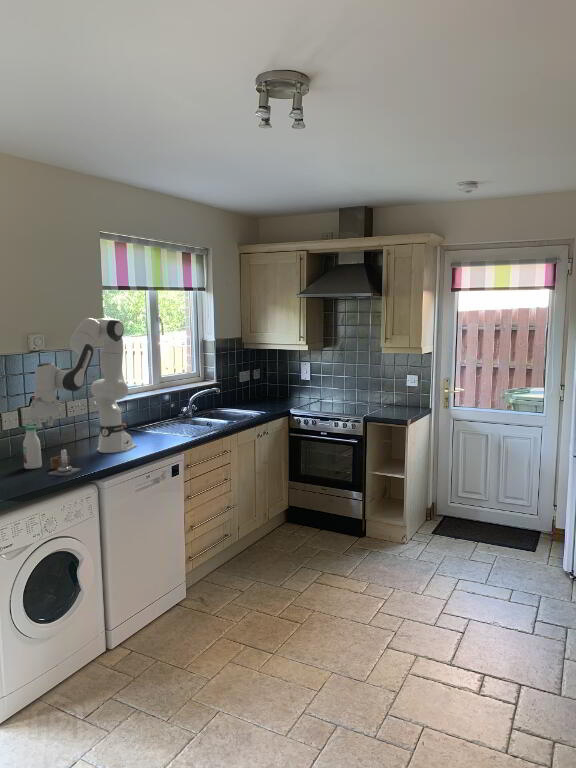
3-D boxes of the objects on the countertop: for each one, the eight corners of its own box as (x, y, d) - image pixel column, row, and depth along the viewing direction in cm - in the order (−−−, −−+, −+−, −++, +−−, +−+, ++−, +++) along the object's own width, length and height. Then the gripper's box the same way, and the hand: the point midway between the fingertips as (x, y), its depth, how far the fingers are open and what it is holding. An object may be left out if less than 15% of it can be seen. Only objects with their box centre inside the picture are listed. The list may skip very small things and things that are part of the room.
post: (63, 469, 270) (61, 447, 269) (81, 470, 267) (79, 448, 266) (48, 474, 260) (47, 452, 259) (67, 475, 257) (65, 453, 256)
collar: (59, 465, 277) (58, 455, 277) (69, 466, 276) (69, 456, 275) (50, 468, 272) (50, 458, 271) (61, 469, 270) (60, 459, 269)
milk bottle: (44, 465, 280) (41, 424, 278) (38, 469, 272) (35, 427, 270) (28, 465, 279) (25, 425, 278) (21, 469, 272) (18, 428, 270)
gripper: (38, 398, 257) (38, 428, 258) (62, 396, 278) (61, 424, 278) (25, 397, 258) (25, 428, 258) (50, 396, 278) (49, 424, 279)
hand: (44, 426), depth 268 cm, fingers open, 8 cm apart
